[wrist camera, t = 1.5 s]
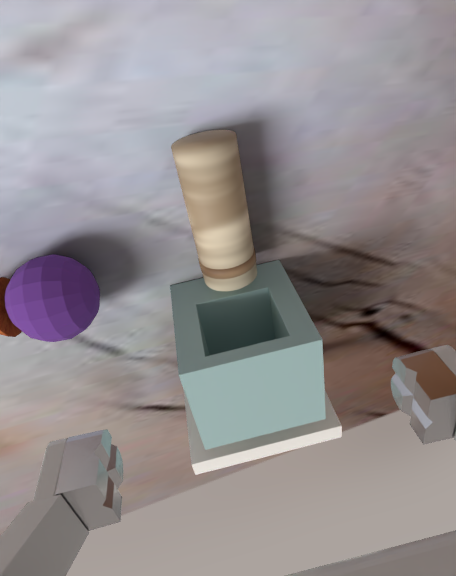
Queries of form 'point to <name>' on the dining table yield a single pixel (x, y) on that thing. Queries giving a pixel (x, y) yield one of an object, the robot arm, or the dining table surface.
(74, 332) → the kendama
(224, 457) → the slab
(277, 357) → the block
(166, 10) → the dining table surface
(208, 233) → the dowel
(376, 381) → the dining table surface
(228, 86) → the dining table surface
